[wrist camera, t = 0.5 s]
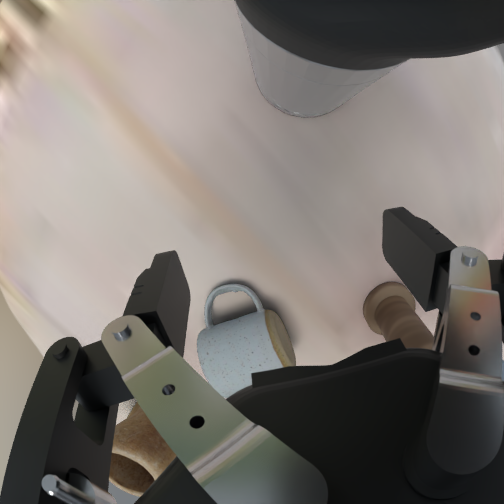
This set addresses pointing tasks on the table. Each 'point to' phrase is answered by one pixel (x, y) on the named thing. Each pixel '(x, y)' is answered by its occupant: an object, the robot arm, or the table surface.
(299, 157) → the table surface
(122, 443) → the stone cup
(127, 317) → the robot arm
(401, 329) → the candlestick
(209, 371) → the ceramic mug
